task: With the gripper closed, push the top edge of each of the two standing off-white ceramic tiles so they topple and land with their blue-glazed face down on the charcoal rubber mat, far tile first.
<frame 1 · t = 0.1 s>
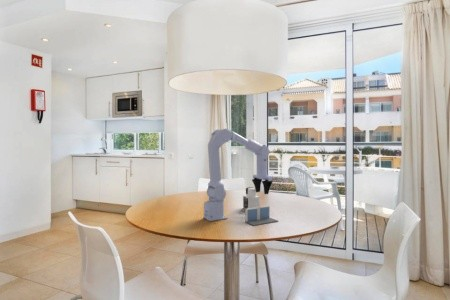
hand: (262, 193, 153), 10 cm above the table, fingers open, 7 cm apart
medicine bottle: (251, 209, 160), on the table
mat: (262, 222, 132), on the table
tile near: (251, 220, 135), on the table
tile far: (263, 218, 138), on the table
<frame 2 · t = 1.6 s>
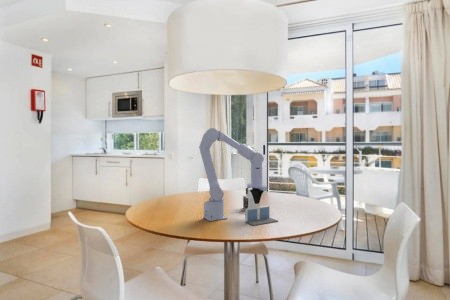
hand: (257, 203, 143), 6 cm above the table, fingers closed
nothing on the table moved.
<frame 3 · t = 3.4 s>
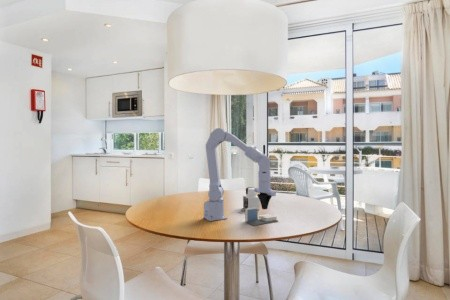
hand: (264, 208, 137), 5 cm above the table, fingers closed
tile far: (263, 216, 138), point 1 cm above the table, tilted 90°, touching mat
everything else where it was.
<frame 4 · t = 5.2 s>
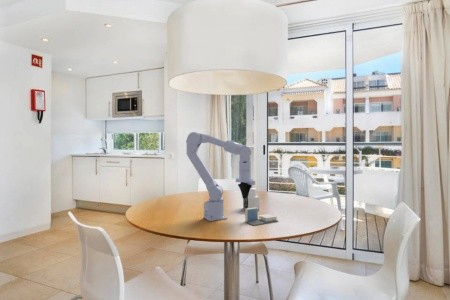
hand: (245, 198, 139), 10 cm above the table, fingers closed
nothing on the table moved.
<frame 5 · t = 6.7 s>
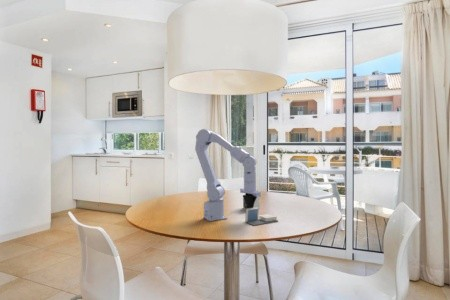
hand: (250, 209, 136), 5 cm above the table, fingers closed
tile near: (251, 220, 135), on the table, tilted 7°, touching gripper
everything else where it was.
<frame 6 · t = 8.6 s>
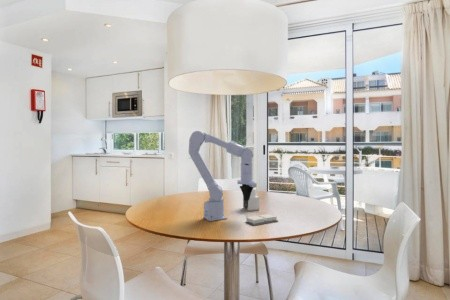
hand: (246, 200, 141), 9 cm above the table, fingers closed
tile near: (251, 218, 135), point 1 cm above the table, tilted 90°, touching mat
everything else where it was.
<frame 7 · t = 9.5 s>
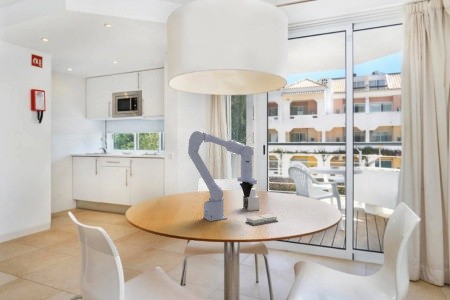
hand: (246, 197, 142), 10 cm above the table, fingers closed
nothing on the table moved.
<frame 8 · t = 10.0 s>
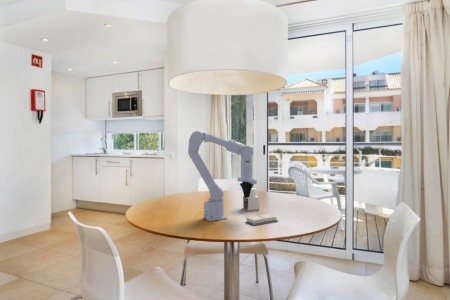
hand: (246, 197, 142), 10 cm above the table, fingers closed
nothing on the table moved.
at the end: tile far tilted 90°; tile near tilted 90°; tile far inside the target area (5.6 cm from its centre), point 1.3 cm above the table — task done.
